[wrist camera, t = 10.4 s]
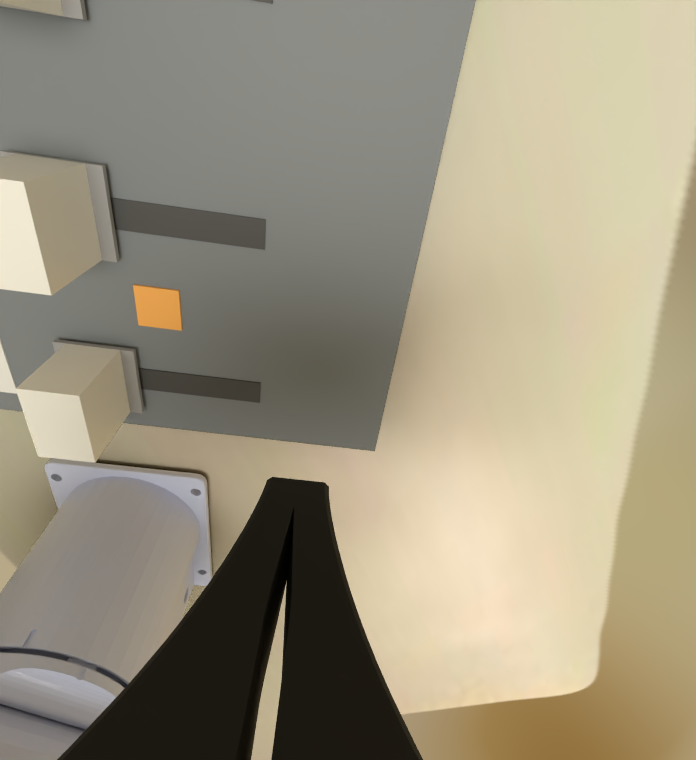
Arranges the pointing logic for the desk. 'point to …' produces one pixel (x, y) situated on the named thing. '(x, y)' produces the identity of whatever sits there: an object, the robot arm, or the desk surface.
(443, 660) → the desk surface
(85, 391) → the breaker handle
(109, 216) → the block
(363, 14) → the panel
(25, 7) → the block
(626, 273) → the desk surface
